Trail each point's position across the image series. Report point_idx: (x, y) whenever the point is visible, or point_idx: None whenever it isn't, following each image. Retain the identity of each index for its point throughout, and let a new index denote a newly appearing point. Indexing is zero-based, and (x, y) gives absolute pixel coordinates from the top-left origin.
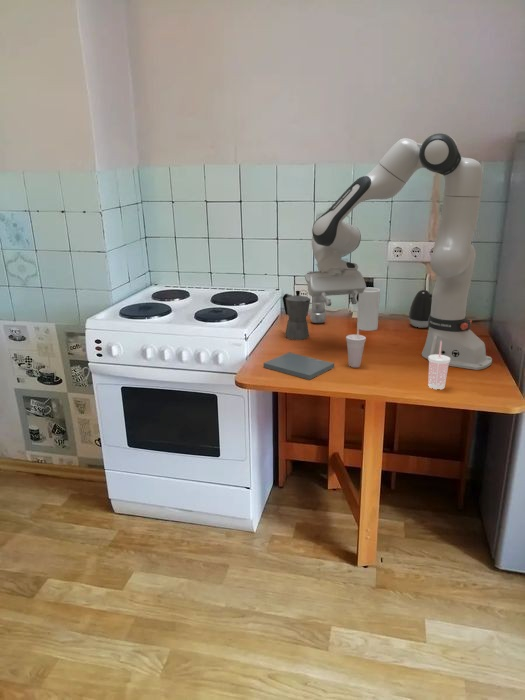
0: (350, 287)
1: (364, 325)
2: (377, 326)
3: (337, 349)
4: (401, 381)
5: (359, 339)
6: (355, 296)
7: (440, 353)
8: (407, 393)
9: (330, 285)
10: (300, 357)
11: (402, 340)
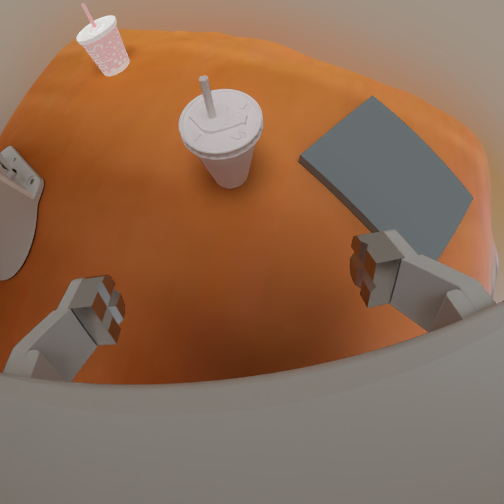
0: (30, 396)
1: None
2: None
3: (242, 347)
4: (161, 78)
5: (215, 95)
6: (56, 316)
7: (91, 21)
8: (182, 39)
9: (443, 430)
10: (396, 224)
11: None
